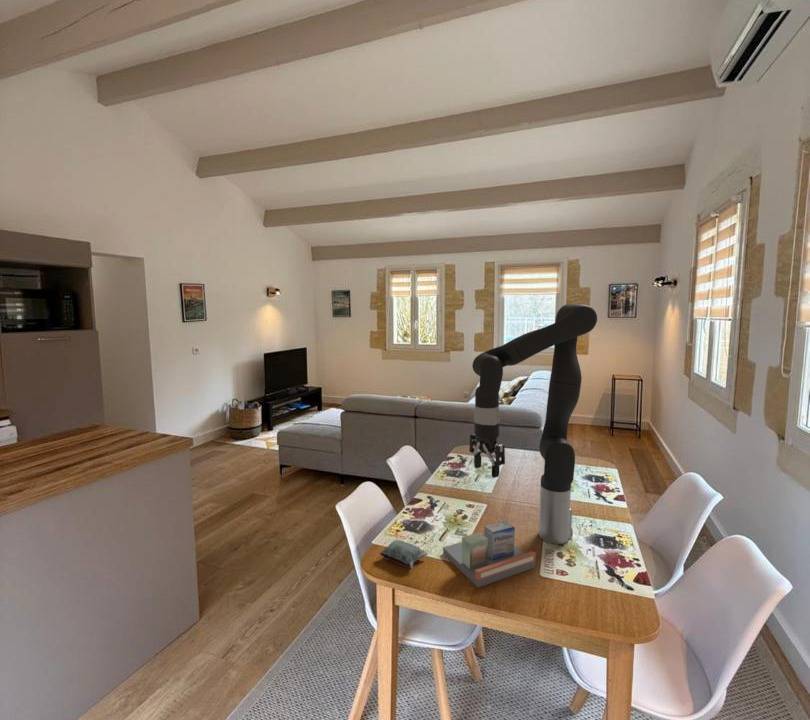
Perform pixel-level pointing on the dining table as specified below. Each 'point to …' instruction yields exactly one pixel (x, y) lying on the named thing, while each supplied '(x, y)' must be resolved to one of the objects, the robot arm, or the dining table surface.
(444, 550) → the shelf
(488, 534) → the medicine box
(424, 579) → the dining table surface
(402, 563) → the grey bean bag
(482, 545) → the sage tin
